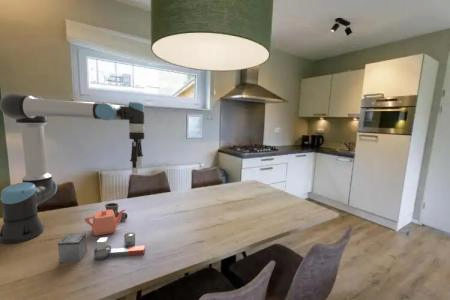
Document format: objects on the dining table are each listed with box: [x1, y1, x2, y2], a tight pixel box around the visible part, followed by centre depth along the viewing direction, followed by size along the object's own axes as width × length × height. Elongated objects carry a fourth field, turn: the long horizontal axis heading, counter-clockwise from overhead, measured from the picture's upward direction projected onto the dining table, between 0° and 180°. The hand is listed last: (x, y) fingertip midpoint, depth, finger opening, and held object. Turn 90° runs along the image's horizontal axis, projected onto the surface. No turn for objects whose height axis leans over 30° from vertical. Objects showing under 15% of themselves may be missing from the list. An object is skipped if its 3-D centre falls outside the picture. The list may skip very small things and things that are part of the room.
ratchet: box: [93, 237, 146, 261], centre depth 91 cm, size 19×6×7 cm, turn 102°
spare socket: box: [123, 231, 136, 248], centre depth 98 cm, size 4×4×5 cm
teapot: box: [84, 208, 127, 237], centre depth 110 cm, size 12×18×10 cm, turn 118°
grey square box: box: [57, 232, 88, 264], centre depth 89 cm, size 7×7×8 cm
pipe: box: [104, 202, 129, 221], centre depth 123 cm, size 6×13×8 cm, turn 78°
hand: (137, 170), depth 122 cm, fingers open, 13 cm apart
